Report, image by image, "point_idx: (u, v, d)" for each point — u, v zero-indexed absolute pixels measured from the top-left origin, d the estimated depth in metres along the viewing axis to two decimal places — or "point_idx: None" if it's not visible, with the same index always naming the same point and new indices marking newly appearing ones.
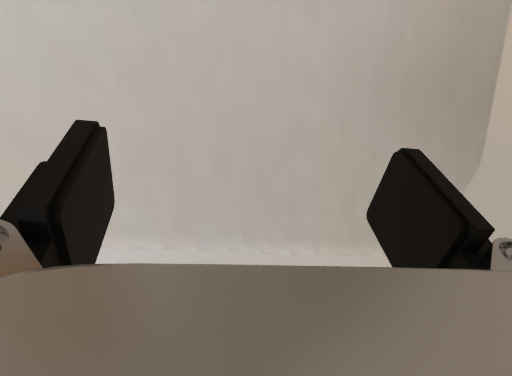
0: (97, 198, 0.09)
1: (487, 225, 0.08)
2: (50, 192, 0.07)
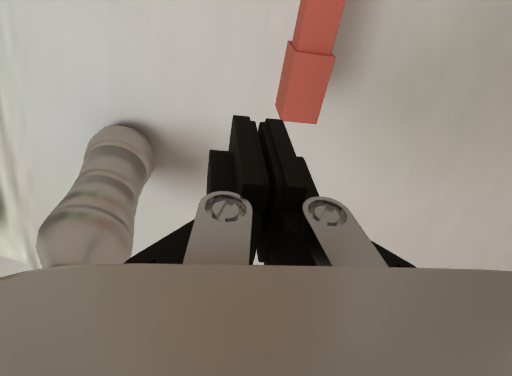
0: None
1: (302, 183, 0.08)
2: (257, 171, 0.09)
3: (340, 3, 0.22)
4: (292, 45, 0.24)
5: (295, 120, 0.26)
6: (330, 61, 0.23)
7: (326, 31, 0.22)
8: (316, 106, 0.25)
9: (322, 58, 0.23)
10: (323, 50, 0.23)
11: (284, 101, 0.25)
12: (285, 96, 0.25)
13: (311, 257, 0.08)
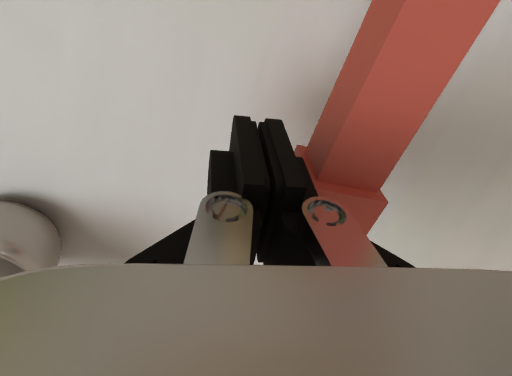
0: None
1: (301, 183, 0.08)
2: (258, 171, 0.09)
3: (420, 111, 0.10)
4: (306, 160, 0.12)
5: None
6: (376, 208, 0.12)
7: (380, 155, 0.11)
8: None
9: (364, 202, 0.12)
10: (366, 185, 0.12)
11: None
12: None
13: (310, 257, 0.08)
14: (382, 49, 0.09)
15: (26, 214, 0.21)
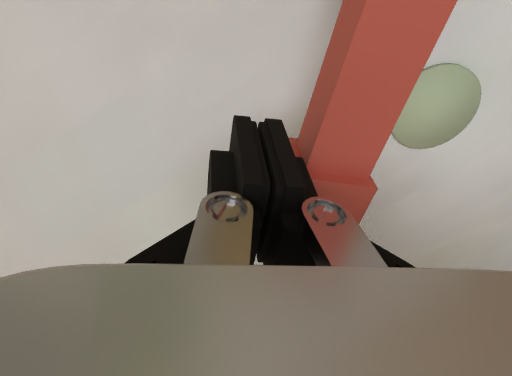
0: None
1: (301, 183, 0.08)
2: (258, 171, 0.09)
3: (400, 96, 0.11)
4: (297, 152, 0.13)
5: None
6: (366, 194, 0.12)
7: (365, 143, 0.11)
8: None
9: (353, 189, 0.12)
10: (355, 172, 0.12)
11: None
12: None
13: (310, 257, 0.08)
14: (353, 39, 0.09)
15: None
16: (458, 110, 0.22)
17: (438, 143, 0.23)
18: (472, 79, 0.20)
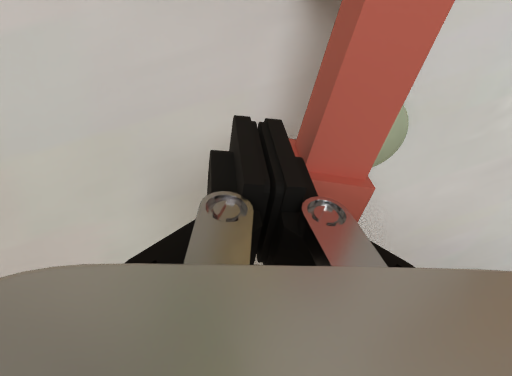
0: None
1: (301, 183, 0.08)
2: (258, 171, 0.09)
3: (397, 97, 0.11)
4: (296, 152, 0.13)
5: None
6: (364, 194, 0.12)
7: (363, 143, 0.12)
8: None
9: (351, 189, 0.12)
10: (353, 173, 0.12)
11: None
12: None
13: (310, 257, 0.08)
14: (351, 41, 0.10)
15: None
16: (385, 140, 0.23)
17: None
18: (402, 113, 0.22)
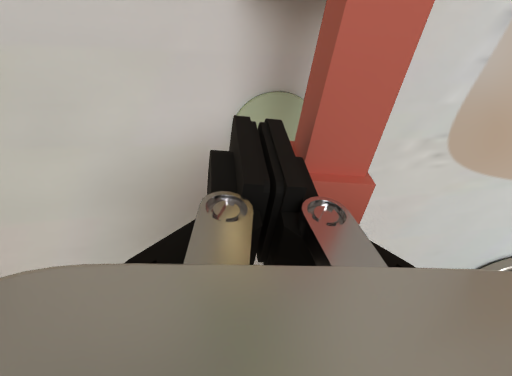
0: None
1: (302, 183, 0.08)
2: (258, 171, 0.09)
3: (389, 93, 0.11)
4: None
5: None
6: (365, 191, 0.12)
7: (359, 141, 0.12)
8: None
9: (351, 187, 0.12)
10: (352, 170, 0.12)
11: None
12: None
13: (310, 257, 0.08)
14: (337, 42, 0.10)
15: None
16: None
17: None
18: None
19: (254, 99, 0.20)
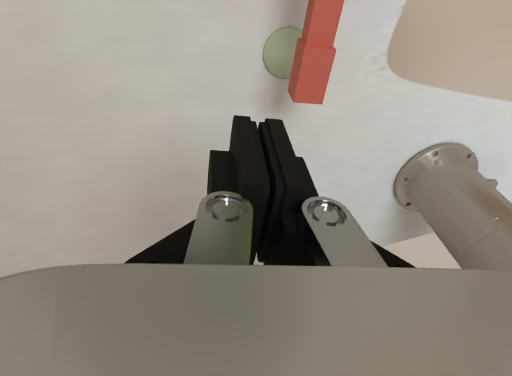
0: None
1: (302, 183, 0.08)
2: (257, 171, 0.09)
3: (339, 7, 0.28)
4: (301, 41, 0.30)
5: (304, 102, 0.32)
6: (332, 53, 0.29)
7: (328, 29, 0.29)
8: (321, 89, 0.31)
9: (326, 50, 0.29)
10: (326, 44, 0.29)
11: (296, 86, 0.31)
12: (297, 82, 0.31)
13: (310, 257, 0.08)
14: None
15: None
16: None
17: (282, 76, 0.40)
18: None
19: (276, 31, 0.37)
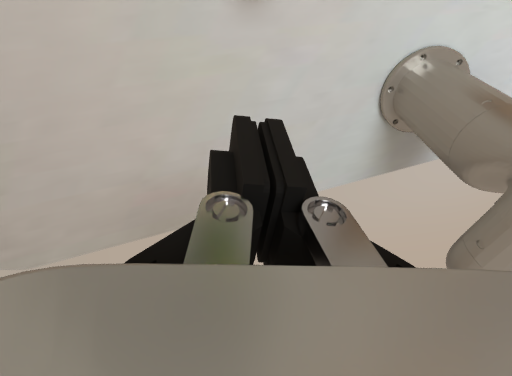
0: None
1: (302, 183, 0.08)
2: (257, 171, 0.09)
3: None
4: None
5: None
6: None
7: None
8: None
9: None
10: None
11: None
12: None
13: (310, 257, 0.08)
14: None
15: None
16: None
17: None
18: None
19: None
